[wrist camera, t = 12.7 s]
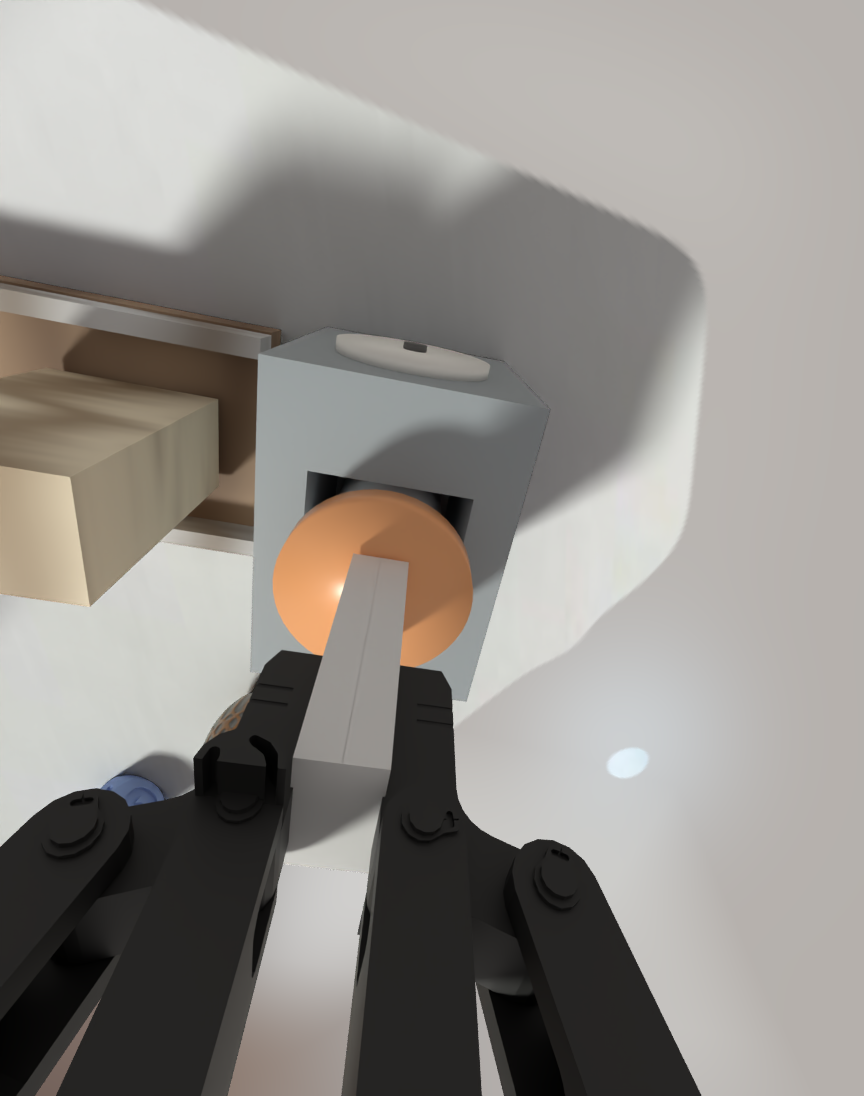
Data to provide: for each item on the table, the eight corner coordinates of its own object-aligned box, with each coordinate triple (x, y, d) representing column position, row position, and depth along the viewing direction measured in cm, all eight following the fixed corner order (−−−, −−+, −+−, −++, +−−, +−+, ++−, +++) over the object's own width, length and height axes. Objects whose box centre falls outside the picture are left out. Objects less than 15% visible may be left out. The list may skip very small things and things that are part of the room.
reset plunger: (320, 540, 22) (268, 658, 15) (332, 414, 20) (276, 486, 13) (445, 560, 23) (451, 684, 16) (472, 439, 20) (494, 523, 13)
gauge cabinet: (309, 545, 27) (250, 671, 18) (328, 311, 22) (258, 329, 13) (455, 569, 28) (466, 701, 19) (507, 347, 23) (556, 387, 14)
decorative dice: (95, 789, 36) (58, 844, 33) (129, 766, 35) (95, 819, 32) (141, 817, 38) (111, 873, 34) (175, 795, 37) (147, 850, 33)
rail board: (-135, 465, 25) (-202, 486, 22) (-214, 233, 21) (-310, 225, 18) (272, 531, 27) (254, 558, 24) (281, 329, 22) (260, 336, 20)
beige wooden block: (61, 459, 23) (-173, 568, 14) (47, 367, 21) (-233, 427, 12) (219, 485, 24) (89, 606, 15) (218, 399, 22) (70, 477, 13)
